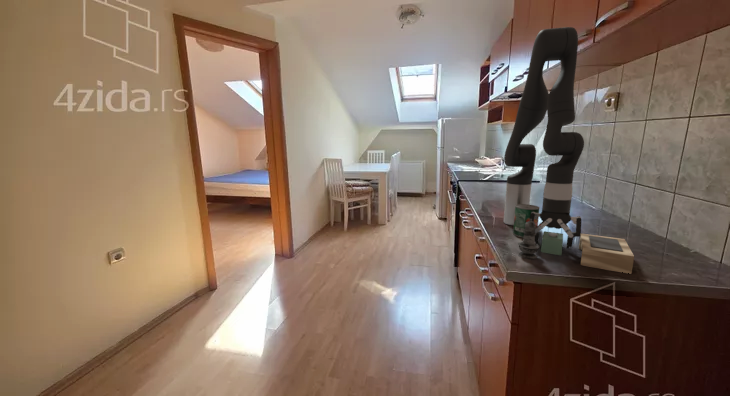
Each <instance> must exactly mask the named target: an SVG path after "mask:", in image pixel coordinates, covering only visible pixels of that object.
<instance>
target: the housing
mask: <svg viewBox="0 0 730 396" xmlns="http://www.w3.org/2000/svg"><path fill="white" fill-rule="evenodd" d="M563 242H564V233H561V232H560V233H558V232H554V231H553V232H552V231H543V233H542V238H541V246H540V247H541V248H540V252H541V253H543V254H549V255H550V254H551V255H556V256H562V253H563V251H562V250H563V245H564V243H563Z"/></svg>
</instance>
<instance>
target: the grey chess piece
mask: <svg viewBox="0 0 730 396" xmlns="http://www.w3.org/2000/svg"><path fill="white" fill-rule="evenodd" d="M535 228H536V224H535V223H534V222H533V221H532V219H530V221H528V222H526V223H525V231H524V232H523V233H524V238H523V239H522V241H520V242H519V241H518V242H517V245H518V249H519V251H520V252H518V253H517V255H518V257H520V258H523V259H527V260H535V259H537V258H538V256H537V254H536V253H537V251H538V250H539V248H540V245H539V243H538V244H536V242H535V235H536V233H535Z"/></svg>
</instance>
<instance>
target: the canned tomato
mask: <svg viewBox="0 0 730 396" xmlns="http://www.w3.org/2000/svg"><path fill="white" fill-rule="evenodd" d="M531 212H535V213H540V206H538V205H533V204H530V205H527V204H518V205H515V218H514V225H513V230H512V234H513V235H514V236H515V237H519V238H523V239H524V233H523V232H524V231H525V223H526V222H528V221H529V220H530V215H531ZM534 223H535V224H536V227H537V226H538V225H539V217H537V219H534Z"/></svg>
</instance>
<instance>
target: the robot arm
mask: <svg viewBox="0 0 730 396" xmlns="http://www.w3.org/2000/svg"><path fill="white" fill-rule="evenodd" d="M578 49H579V35H578V31H577V29H576V28H575V27H573V26H565V27H556V28H555V27H554V28H544V29H541V30H540V31H539V32H538V34H537V35H536V37H535V39H534V42H533V45H532V50H531V55H530V61H529V67H528V71H527V77H526V80H525V85H524V88H523V91H522V94H521V98H520V101H519V104H518V109H517V113H516V118H515V121H514V126H513V128H512V131H511V134H510V137H509V140H508V143H507V145H506V149H505V151H504V156H503V157H504V158H503V159H504V160H503V161H504V164H505V165H506V167H511V168H521V169H520V170H519V171H518V172H515V173H513V174H509V175H508V176H507V177H506V187H505V188H506V191H505V201H504V213H503V223H504V224H506V225H509V226H514V218H515V205H518V204H527V205H531V203H530V202H531V195H532V193H531V192H532V183H533V177H534V172H535V163H536V158H537V148H536V147H535V145H534V144H532V143H522V142H523V140H524V139H525V138H526V137H527V136H528V135H529V134H530V133H531V132H532V131H534V130H535V129H536V128H537V127H538V126H539V125H540V124H541V123H542V122H543V120H544V119H545V117H546V114H547V124H546V128H545V133H544V137H543V140H542V148H543V151H544V152H545V153H546V154H547V155H548V156H554V157H555V156H556V157H557V156H562V157H560V159H559V160H558V161H557V162H554V163H551V164H549V165H548V166H547V170H546V177H545V185H544V188H543V195H542V196H543V197H542V198H543V199H542V207H541V212H539V213H535V212H531V215H530V219H532V221H533V222H534V219H537V217H538V218H540V220H541V222H540V223H538V226H537V227H536V228H535V233H536V235H535V243H536V244H538V245H539V240H540V231H541V230H543V229H544V228H545V227H547V228H549V229H553V228H554V229H556V230H560V229H562V230H563V231H564V232H565V233H566V234H567V239H566V247H565V248H566V249H570V248H572V247H573V242H574V240H573V239H574V238H576V237H577V238H580V236H581V233H582V217H581V216H579V215H578V216H571V208H572V207H571V206H572V205H571V204H572V198H573V180H574V174H575V172H574V171H575V169H576V167H577V164H578V162H579V160H580V157H581V155H582V153H583V151H584V147H585V139H584V137H583V135H582V134H581V133H580V132H576V131H562V130H563V129H562V128H563V127H564V126H568V125H570V124H572V123H574V121H575V119H576V110H575V109H576V108H575V96H574V94H575V93H574V92H575V91H574V90H575V89H574V88H575V77H576V70H577V59H578ZM553 61H555V62H556V61H560V72H559V75H558V77H557V79H556V80H555V82H554V84H553V86H552V87H551V89H550V91H548V89H547V86H546V85H547V84H545V80H544V76H543V74H544V68H545V67H544V66H545V63H547V62H553ZM529 221H530V220H529ZM571 221H572V223H573V224H574V225H575V231H572V230H571V228H570V227H569V225H568V223H570V222H571Z"/></svg>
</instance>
